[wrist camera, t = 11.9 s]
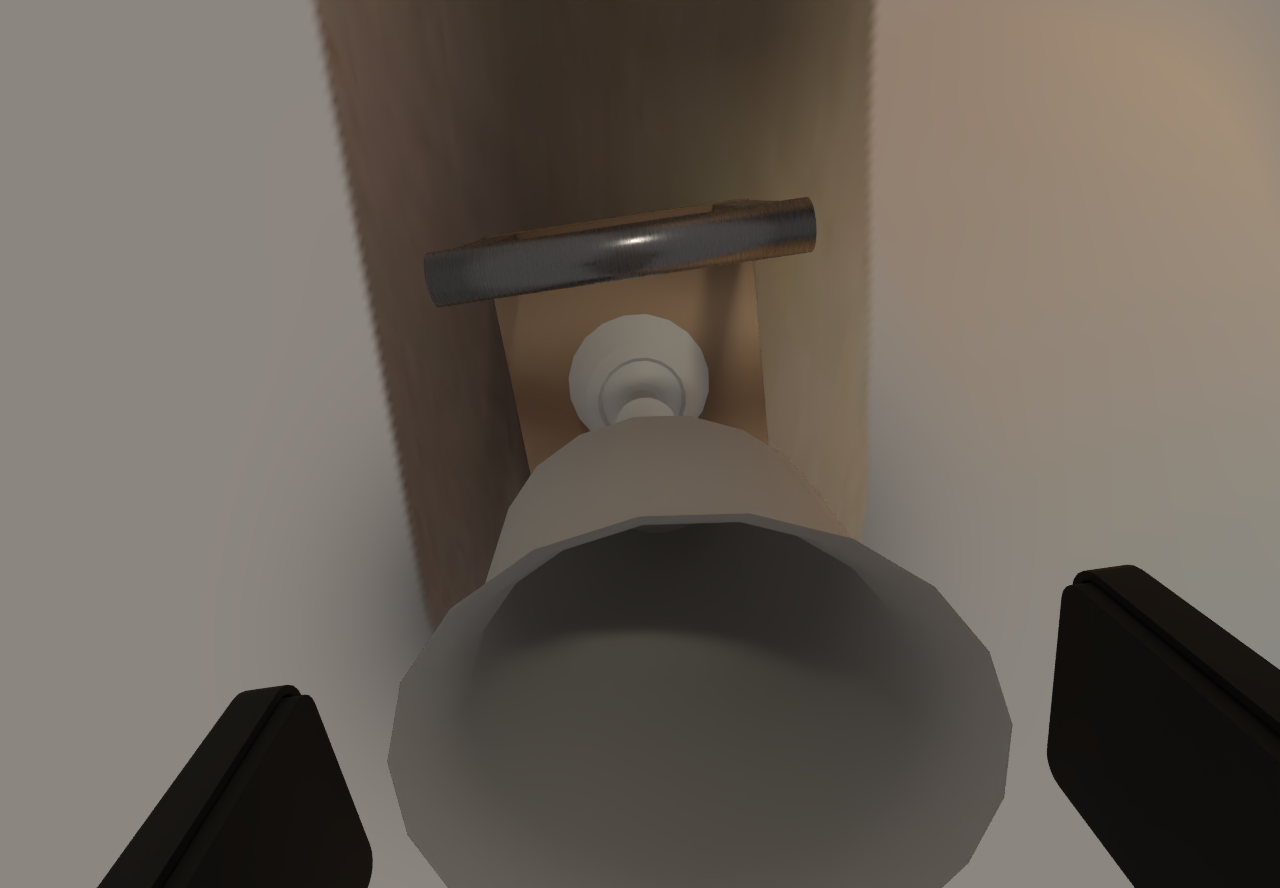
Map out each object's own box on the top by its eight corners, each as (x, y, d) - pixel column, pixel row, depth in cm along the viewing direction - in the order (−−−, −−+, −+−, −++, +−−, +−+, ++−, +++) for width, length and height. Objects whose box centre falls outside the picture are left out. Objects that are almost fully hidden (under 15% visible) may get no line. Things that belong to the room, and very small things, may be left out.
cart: (498, 230, 27) (410, 256, 15) (728, 196, 27) (823, 195, 15) (554, 510, 31) (521, 706, 19) (754, 481, 31) (845, 659, 19)
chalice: (510, 428, 25) (313, 897, 8) (581, 252, 23) (512, 401, 6) (690, 499, 27) (835, 1031, 10) (771, 338, 25) (1135, 652, 8)
